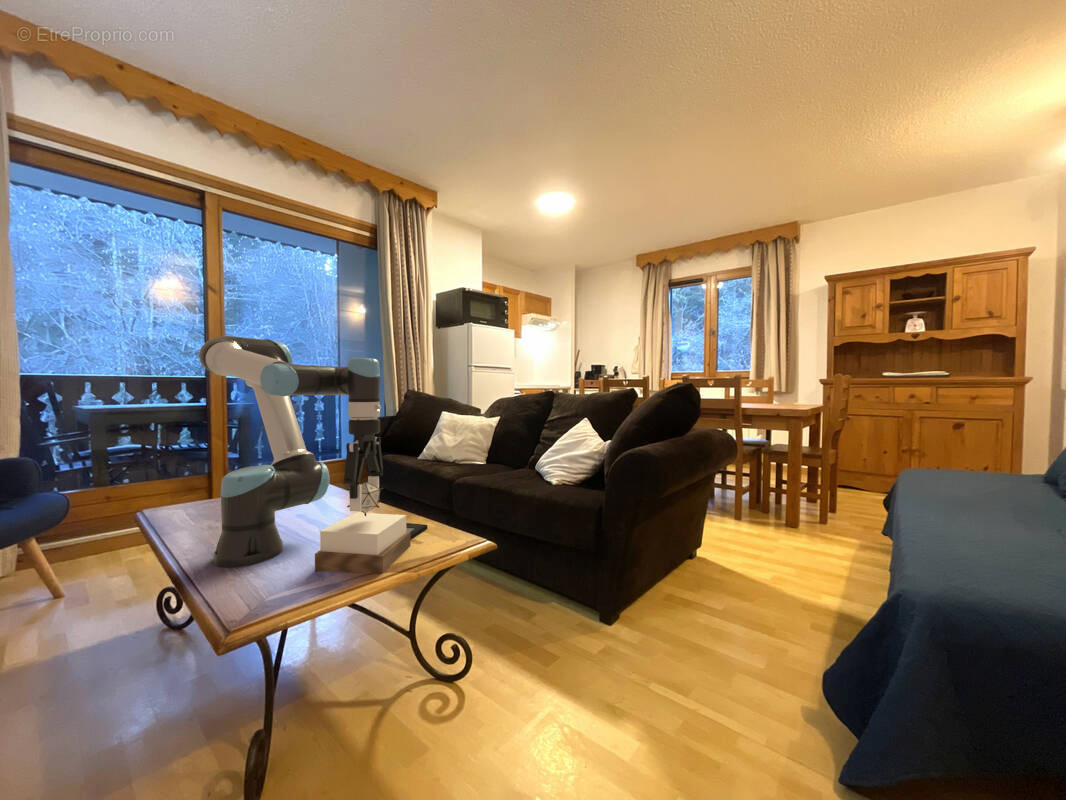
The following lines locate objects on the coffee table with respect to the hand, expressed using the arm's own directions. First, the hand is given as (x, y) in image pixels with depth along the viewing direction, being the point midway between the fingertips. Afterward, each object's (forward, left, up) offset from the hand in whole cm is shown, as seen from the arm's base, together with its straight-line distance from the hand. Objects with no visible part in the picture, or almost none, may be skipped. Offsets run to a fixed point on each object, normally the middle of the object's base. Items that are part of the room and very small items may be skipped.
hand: (365, 505), depth 107 cm
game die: (0, 0, -3) cm, 3 cm away
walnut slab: (0, 0, -14) cm, 14 cm away
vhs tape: (+4, +16, -15) cm, 22 cm away
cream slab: (0, 0, -9) cm, 9 cm away
